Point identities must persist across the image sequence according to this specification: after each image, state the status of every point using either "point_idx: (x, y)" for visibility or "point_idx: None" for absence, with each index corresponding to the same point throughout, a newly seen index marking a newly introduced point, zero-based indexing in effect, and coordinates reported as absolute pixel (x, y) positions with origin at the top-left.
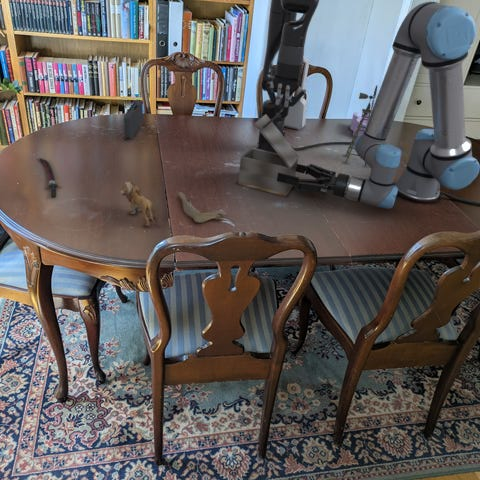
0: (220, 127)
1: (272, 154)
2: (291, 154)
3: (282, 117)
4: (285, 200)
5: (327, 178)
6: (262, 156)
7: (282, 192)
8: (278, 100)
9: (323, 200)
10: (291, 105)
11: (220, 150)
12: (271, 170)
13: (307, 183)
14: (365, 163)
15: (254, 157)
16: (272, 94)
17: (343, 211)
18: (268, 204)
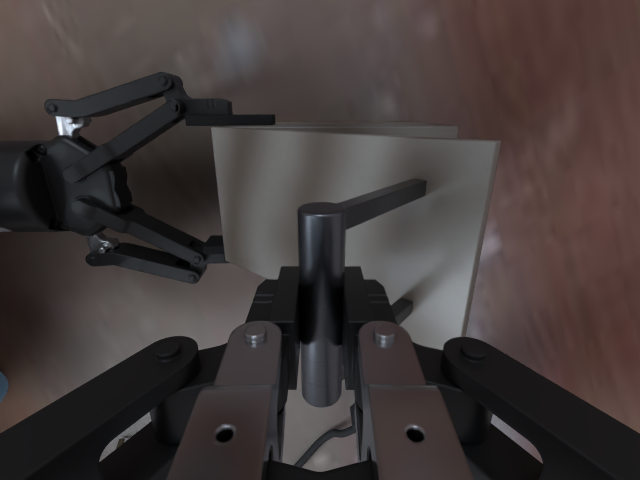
0: None
1: None
2: (241, 218)
3: (294, 266)
4: (232, 90)
5: (71, 170)
6: None
7: None
8: (379, 364)
9: (127, 164)
10: (179, 344)
11: (533, 324)
12: (304, 125)
13: (128, 92)
14: (119, 445)
15: None
16: (523, 430)
17: (39, 122)
18: (272, 22)
